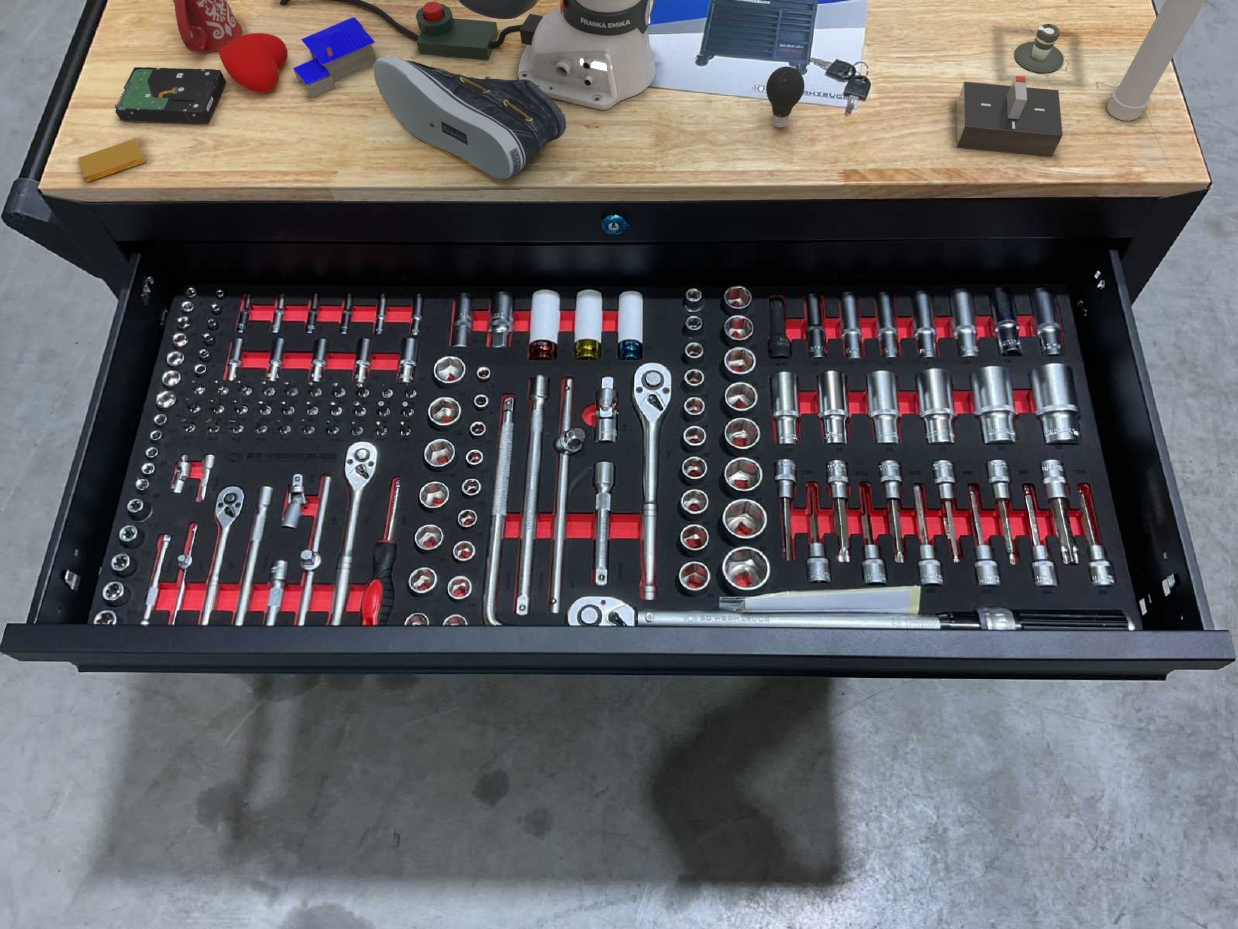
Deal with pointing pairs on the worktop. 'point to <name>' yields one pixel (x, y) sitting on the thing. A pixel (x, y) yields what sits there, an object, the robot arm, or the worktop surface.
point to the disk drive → (170, 95)
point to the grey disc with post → (1041, 51)
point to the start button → (433, 11)
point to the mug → (206, 24)
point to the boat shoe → (471, 114)
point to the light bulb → (784, 93)
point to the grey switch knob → (1016, 97)
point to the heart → (255, 60)
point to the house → (335, 55)
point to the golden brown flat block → (111, 160)
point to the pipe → (1153, 58)
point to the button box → (455, 36)
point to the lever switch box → (1008, 120)
